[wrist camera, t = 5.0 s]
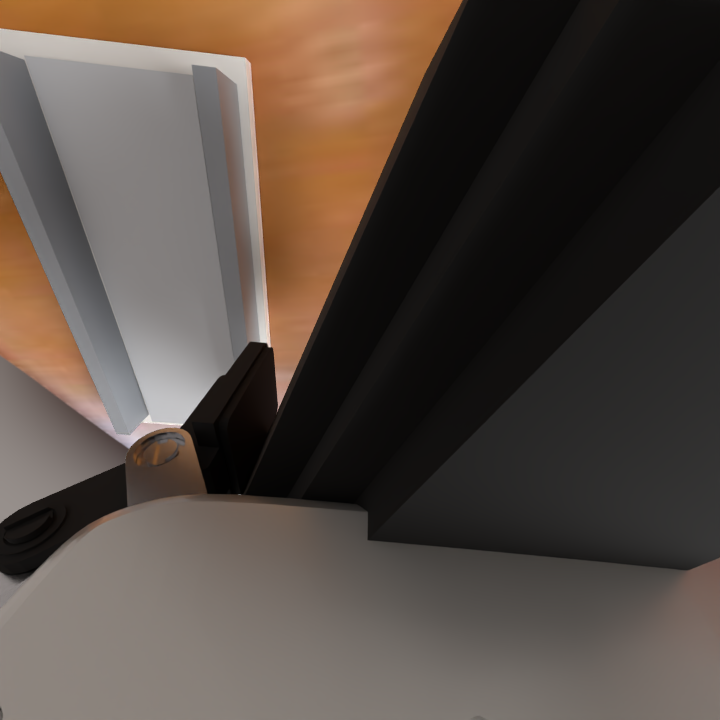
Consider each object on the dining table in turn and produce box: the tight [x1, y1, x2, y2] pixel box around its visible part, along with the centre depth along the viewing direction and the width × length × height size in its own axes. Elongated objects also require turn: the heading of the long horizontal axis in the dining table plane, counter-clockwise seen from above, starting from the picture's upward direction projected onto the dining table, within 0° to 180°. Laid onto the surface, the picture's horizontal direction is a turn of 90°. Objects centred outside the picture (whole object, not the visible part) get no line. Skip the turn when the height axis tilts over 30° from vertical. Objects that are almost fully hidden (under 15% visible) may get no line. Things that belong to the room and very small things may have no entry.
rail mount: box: [0, 29, 275, 435], centre depth 19 cm, size 24×12×3 cm, turn 175°
